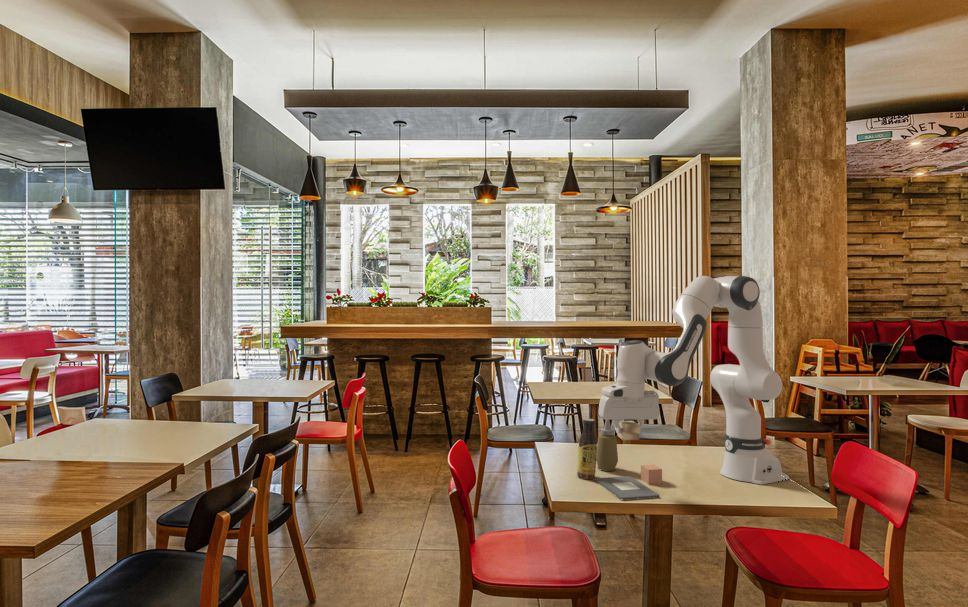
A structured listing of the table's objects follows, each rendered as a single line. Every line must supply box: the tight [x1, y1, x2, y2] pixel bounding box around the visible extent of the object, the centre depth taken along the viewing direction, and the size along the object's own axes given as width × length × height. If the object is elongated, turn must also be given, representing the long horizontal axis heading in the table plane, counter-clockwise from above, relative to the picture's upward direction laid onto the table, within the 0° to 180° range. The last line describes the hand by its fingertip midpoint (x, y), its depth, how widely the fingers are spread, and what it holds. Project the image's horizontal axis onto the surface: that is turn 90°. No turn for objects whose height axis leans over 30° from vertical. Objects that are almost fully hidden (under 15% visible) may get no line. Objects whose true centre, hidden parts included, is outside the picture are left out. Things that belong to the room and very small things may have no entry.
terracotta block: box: [640, 464, 663, 485], centre depth 178 cm, size 5×5×5 cm
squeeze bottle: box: [596, 420, 619, 472], centre depth 190 cm, size 8×8×18 cm
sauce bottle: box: [576, 418, 598, 480], centre depth 181 cm, size 6×6×20 cm
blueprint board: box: [595, 475, 660, 500], centre depth 170 cm, size 13×18×1 cm
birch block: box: [617, 420, 640, 441], centre depth 170 cm, size 5×5×5 cm
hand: (628, 433), depth 170 cm, fingers closed on birch block, 5 cm apart
